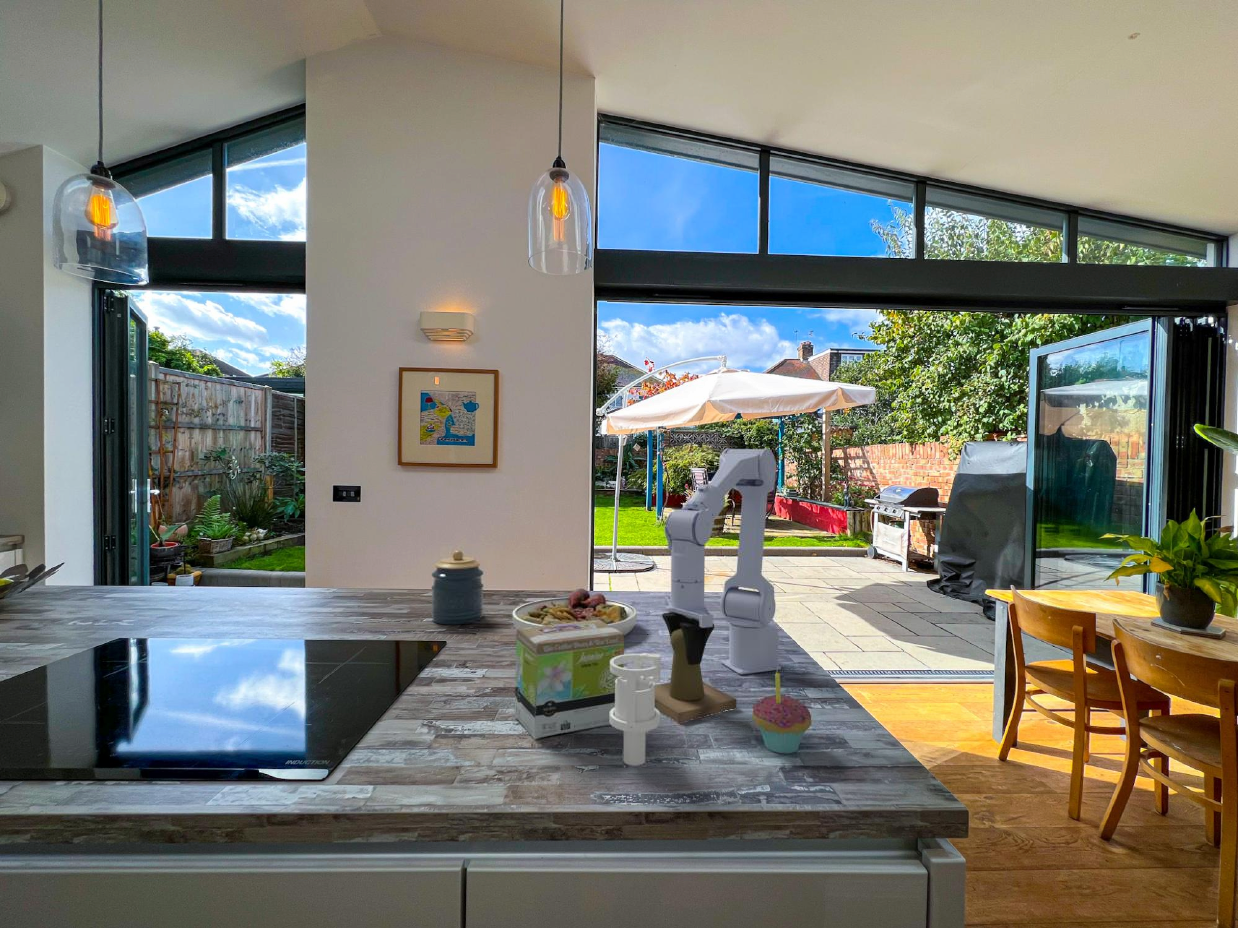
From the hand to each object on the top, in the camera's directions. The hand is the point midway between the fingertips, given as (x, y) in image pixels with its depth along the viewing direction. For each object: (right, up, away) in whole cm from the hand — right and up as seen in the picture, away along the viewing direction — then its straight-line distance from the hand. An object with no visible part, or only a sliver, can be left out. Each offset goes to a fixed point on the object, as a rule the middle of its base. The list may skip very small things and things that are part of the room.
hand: (686, 658), depth 110 cm
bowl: (-22, -7, +45) cm, 51 cm away
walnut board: (0, -9, 0) cm, 9 cm away
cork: (0, -6, 0) cm, 6 cm away
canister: (-53, -7, +55) cm, 77 cm away
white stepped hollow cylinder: (-9, -8, -20) cm, 24 cm away
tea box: (-20, -8, -7) cm, 22 cm away
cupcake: (+12, -8, -16) cm, 21 cm away
